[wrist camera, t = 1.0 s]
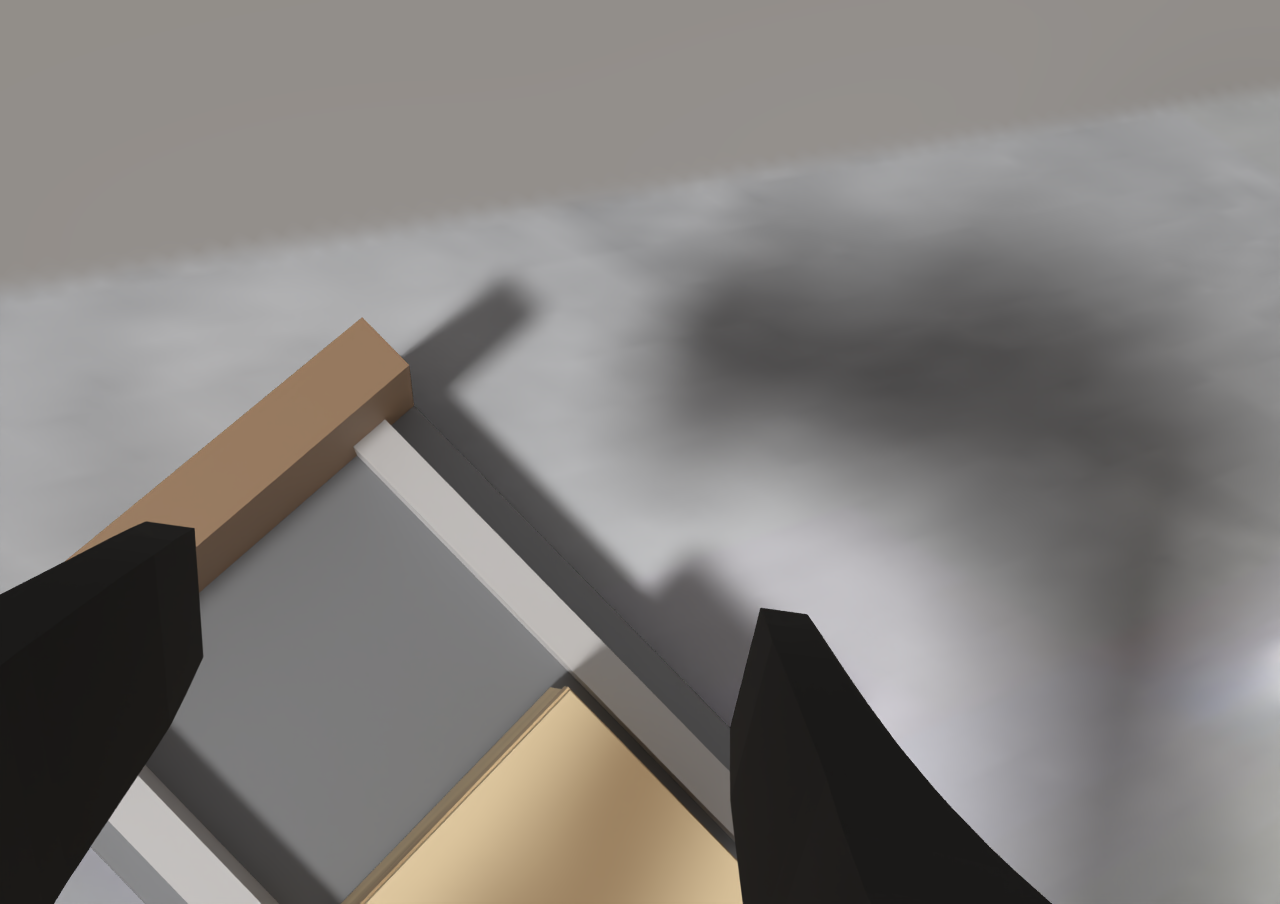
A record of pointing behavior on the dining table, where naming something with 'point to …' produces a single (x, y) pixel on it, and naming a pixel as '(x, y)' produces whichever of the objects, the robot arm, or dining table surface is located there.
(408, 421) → the bay
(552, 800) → the crate
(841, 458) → the dining table surface
